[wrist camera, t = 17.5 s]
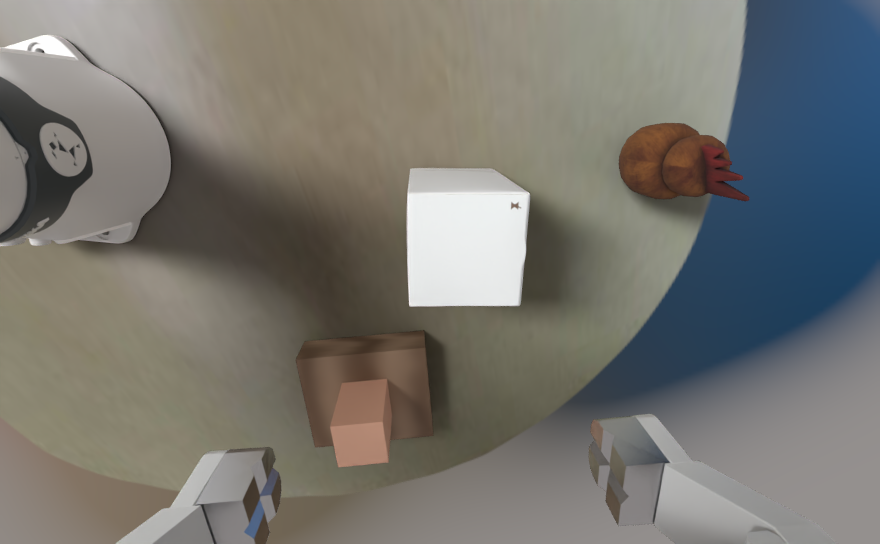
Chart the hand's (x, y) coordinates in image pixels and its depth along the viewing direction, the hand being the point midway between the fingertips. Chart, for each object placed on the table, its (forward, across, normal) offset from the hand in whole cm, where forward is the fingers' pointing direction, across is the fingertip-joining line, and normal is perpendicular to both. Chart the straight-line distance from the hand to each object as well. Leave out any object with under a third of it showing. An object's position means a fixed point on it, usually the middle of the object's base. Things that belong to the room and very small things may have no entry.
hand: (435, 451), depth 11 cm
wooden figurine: (+35, -23, -3) cm, 42 cm away
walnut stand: (+35, +7, +21) cm, 42 cm away
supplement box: (+35, -3, +1) cm, 35 cm away
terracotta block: (+31, +7, +21) cm, 38 cm away
